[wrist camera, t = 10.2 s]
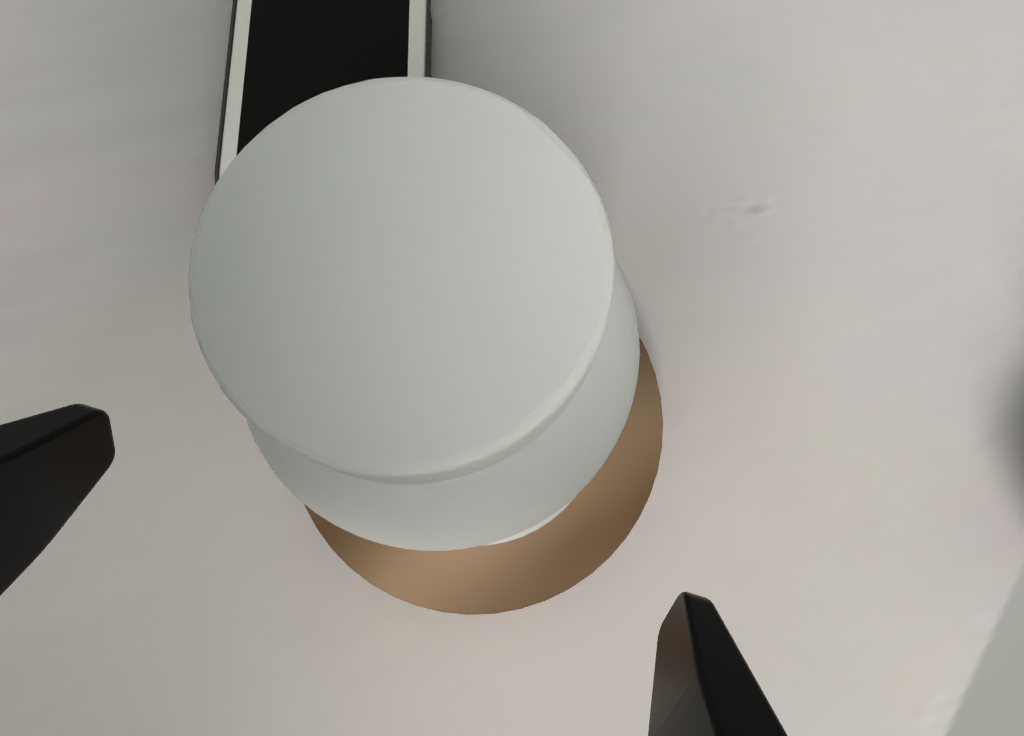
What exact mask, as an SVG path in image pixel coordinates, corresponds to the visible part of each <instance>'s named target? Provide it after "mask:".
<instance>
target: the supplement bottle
mask: <svg viewBox="0 0 1024 736" xmlns="http://www.w3.org/2000/svg"><path fill="white" fill-rule="evenodd" d="M189 297H190V307H191V317H192V323H193V327H194V330H195V334H196V337H197V340H198V343H199V345H200V348H201V351H202V353H203V356H204V358H205V360H206V362H207V364H208V366H209V368H210V370H211V372H212V374H213V375H214V377H215V379H216V381H217V382H218V384H219V386H220V388H221V389H222V391H223V392H224V394H225V395H226V396H227V397H228V398H229V400H230V401H231V402H232V403H233V404H234V406H235V407H236V408H237V409H238V410H239V411H240V412H241V413H242V415H243V416H244V417H245V418H246V419H247V422H248V425H249V428H250V430H251V432H252V435H253V437H254V439H255V442H256V444H257V445H258V447H259V449H260V451H261V453H262V454H263V456H264V458H265V459H266V461H267V462H268V464H269V465H270V467H271V468H272V470H273V471H274V473H275V474H276V475H277V476H278V478H279V479H280V480H281V481H282V482H283V484H284V485H285V486H286V487H287V488H288V489H289V490H290V491H291V492H292V493H293V494H294V495H295V496H296V497H297V498H298V499H299V500H300V501H302V502H303V503H304V504H305V505H306V506H308V507H309V508H310V509H311V510H312V511H314V512H315V513H316V514H318V515H320V516H321V517H323V518H324V519H326V520H328V521H329V522H331V523H332V524H334V525H336V526H338V527H340V528H342V529H344V530H346V531H348V532H350V533H352V534H355V535H357V536H359V537H362V538H364V539H367V540H370V541H373V542H377V543H380V544H383V545H388V546H392V547H397V548H403V549H410V550H420V551H448V550H457V549H465V548H471V547H476V546H481V545H487V544H490V543H493V542H496V541H499V540H503V539H505V538H508V537H510V536H513V535H515V534H518V533H520V532H523V531H525V530H527V529H529V528H531V527H533V526H535V525H536V524H538V523H540V522H541V521H543V520H545V519H546V518H548V517H549V516H551V515H552V514H554V513H555V512H556V511H558V510H559V509H560V508H562V507H563V506H565V505H566V504H567V503H568V502H569V501H571V500H572V499H573V498H574V497H575V496H576V495H577V494H578V493H579V492H580V491H581V490H582V489H583V488H584V487H585V486H586V485H587V484H588V483H589V482H590V481H591V479H592V478H593V477H594V476H595V474H596V473H597V472H598V471H599V469H600V468H601V467H602V465H603V464H604V462H605V461H606V459H607V457H608V456H609V454H610V453H611V451H612V449H613V448H614V446H615V444H616V442H617V440H618V438H619V436H620V434H621V432H622V430H623V428H624V425H625V423H626V421H627V418H628V415H629V412H630V409H631V406H632V403H633V398H634V394H635V390H636V384H637V378H638V370H639V359H640V346H639V331H638V322H637V316H636V312H635V307H634V303H633V300H632V297H631V293H630V290H629V287H628V285H627V283H626V280H625V278H624V276H623V273H622V271H621V269H620V267H619V266H618V264H617V262H616V260H615V255H614V247H613V239H612V231H611V227H610V224H609V220H608V217H607V213H606V210H605V207H604V205H603V202H602V200H601V198H600V195H599V193H598V191H597V189H596V187H595V185H594V184H593V182H592V180H591V178H590V176H589V175H588V173H587V171H586V170H585V168H584V167H583V165H582V164H581V162H580V161H579V160H578V158H577V157H576V155H575V154H574V153H573V152H572V151H571V150H570V148H569V147H568V146H567V145H566V144H565V143H564V142H563V141H562V140H561V139H560V138H559V137H558V136H557V135H556V134H555V133H554V132H553V131H552V130H551V129H550V128H549V127H548V126H547V125H546V124H544V123H543V122H542V121H541V120H539V119H538V118H537V117H535V116H534V115H532V114H531V113H530V112H528V111H527V110H526V109H524V108H522V107H520V106H518V105H517V104H515V103H513V102H511V101H509V100H507V99H505V98H503V97H502V96H500V95H498V94H495V93H492V92H489V91H487V90H485V89H482V88H479V87H476V86H473V85H470V84H466V83H461V82H457V81H452V80H447V79H439V78H431V77H389V78H378V79H370V80H366V81H362V82H358V83H354V84H349V85H345V86H342V87H339V88H336V89H333V90H330V91H327V92H324V93H321V94H319V95H317V96H315V97H313V98H311V99H309V100H307V101H305V102H303V103H301V104H299V105H297V106H295V107H294V108H292V109H290V110H289V111H288V112H286V113H285V114H283V115H282V116H280V117H279V118H278V119H276V120H275V121H273V122H272V123H271V124H269V125H268V126H267V127H266V128H264V129H263V130H262V131H261V132H260V133H259V134H258V135H257V136H255V137H254V138H253V139H252V140H251V141H250V142H249V143H248V144H247V145H246V146H245V147H244V148H243V149H242V151H241V152H240V153H239V154H238V155H237V156H236V157H235V158H234V159H233V161H232V162H231V163H230V165H229V166H228V167H227V169H226V170H225V171H224V173H223V174H222V176H221V177H220V178H219V180H218V181H217V183H216V185H215V187H214V189H213V191H212V193H211V195H210V197H209V199H208V201H207V203H206V206H205V208H204V211H203V213H202V216H201V218H200V221H199V224H198V227H197V230H196V234H195V238H194V242H193V246H192V251H191V258H190V268H189Z"/></svg>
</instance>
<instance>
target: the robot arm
mask: <svg viewBox="0 0 1024 736" xmlns="http://www.w3.org/2000/svg"><path fill="white" fill-rule="evenodd" d="M114 455H115V447H114V441H113V436H112V430H111V425H110V419H109V416H108V415H107V413H106V412H105V411H103V410H100V409H97V408H94V407H91V406H87V405H84V404H74V405H69V406H66V407H62V408H59V409H55V410H52V411H48V412H45V413H41V414H38V415H34V416H31V417H27V418H24V419H20V420H17V421H13V422H10V423H6V424H3V425H0V596H1V595H2V593H3V592H4V591H5V590H6V589H7V588H8V587H9V586H10V585H11V584H12V583H13V582H14V581H15V580H16V579H17V578H18V577H19V576H20V575H21V574H22V572H23V571H24V570H25V569H26V568H27V567H28V566H29V565H30V564H31V563H32V562H33V561H34V560H35V559H36V558H37V556H38V555H39V554H40V553H41V552H42V551H43V550H44V549H45V547H46V546H47V545H48V544H49V543H50V541H51V540H52V539H53V538H54V537H55V535H56V534H57V533H58V532H59V530H60V529H61V528H62V527H63V525H64V524H65V523H66V522H67V520H68V519H69V518H70V516H71V515H72V514H73V513H74V511H75V510H76V509H77V508H78V506H79V505H80V504H81V502H82V501H83V500H84V499H85V497H86V496H87V495H88V494H89V492H90V491H91V490H92V488H93V487H94V486H95V485H96V483H97V482H98V481H99V480H100V478H101V477H102V476H103V474H104V473H105V472H106V471H107V469H108V468H109V467H110V465H111V463H112V461H113V459H114ZM648 736H787V734H786V732H785V730H784V729H783V727H782V725H781V723H780V722H779V720H778V718H777V716H776V714H775V713H774V711H773V709H772V707H771V706H770V704H769V702H768V700H767V698H766V697H765V695H764V693H763V691H762V690H761V688H760V686H759V684H758V682H757V681H756V679H755V677H754V675H753V674H752V672H751V670H750V668H749V666H748V665H747V663H746V661H745V659H744V658H743V656H742V654H741V652H740V651H739V649H738V647H737V645H736V643H735V642H734V640H733V638H732V636H731V635H730V633H729V631H728V629H727V627H726V626H725V624H724V622H723V620H722V619H721V617H720V615H719V613H718V611H717V610H716V608H715V606H714V605H713V603H712V602H711V601H710V600H709V599H707V598H705V597H701V596H698V595H695V594H692V593H689V592H682V593H681V594H680V595H679V596H678V597H677V599H676V601H675V602H674V604H673V606H672V607H671V609H670V611H669V613H668V614H667V616H666V618H665V619H664V621H663V623H662V625H661V628H660V631H659V635H658V642H657V652H656V662H655V672H654V682H653V692H652V702H651V712H650V722H649V733H648Z"/></svg>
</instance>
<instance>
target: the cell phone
mask: <svg viewBox="0 0 1024 736" xmlns="http://www.w3.org/2000/svg"><path fill="white" fill-rule="evenodd" d="M430 2H431V0H233V7H232V16H231V25H230V34H229V44H228V53H227V62H226V71H225V81H224V90H223V99H222V109H221V118H220V127H219V136H218V146H217V155H216V164H215V185H216V183H217V181H218V180H219V178H220V177H221V176H222V174H223V173H224V171H225V170H226V169H227V167H228V166H229V165H230V163H231V162H232V161H233V159H234V158H235V157H236V156H237V155H238V154H239V153H240V152H241V151H242V149H243V148H244V147H245V146H246V145H247V144H248V143H249V142H250V141H251V140H252V139H253V138H254V137H255V136H257V135H258V134H259V133H260V132H261V131H262V130H263V129H264V128H266V127H267V126H268V125H269V124H271V123H272V122H273V121H275V120H276V119H278V118H279V117H280V116H282V115H283V114H285V113H286V112H288V111H289V110H290V109H292V108H294V107H295V106H297V105H299V104H301V103H303V102H305V101H307V100H309V99H311V98H313V97H315V96H317V95H319V94H321V93H324V92H327V91H330V90H333V89H336V88H339V87H342V86H345V85H349V84H354V83H358V82H362V81H366V80H370V79H378V78H389V77H431V40H432V18H431V12H430Z"/></svg>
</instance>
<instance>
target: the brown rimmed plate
mask: <svg viewBox="0 0 1024 736" xmlns="http://www.w3.org/2000/svg"><path fill="white" fill-rule="evenodd" d="M639 346H640V359H639V370H638V378H637V384H636V390H635V394H634V398H633V403H632V406H631V409H630V412H629V415H628V418H627V421H626V423H625V425H624V428H623V430H622V432H621V434H620V436H619V438H618V440H617V442H616V444H615V446H614V448H613V449H612V451H611V453H610V454H609V456H608V457H607V459H606V461H605V462H604V464H603V465H602V467H601V468H600V469H599V471H598V472H597V473H596V474H595V476H594V477H593V478H592V479H591V481H590V482H589V483H588V484H587V485H586V486H585V487H584V488H583V489H582V490H581V491H580V492H579V493H578V494H577V495H576V496H575V497H574V498H573V499H572V500H571V501H569V502H568V503H567V504H566V505H565V506H563V507H562V508H560V509H559V510H558V511H556V512H555V513H554V514H552V515H551V516H549V517H548V518H546V519H545V520H543V521H541V522H540V523H538V524H536V525H535V526H533V527H531V528H529V529H527V530H525V531H523V532H520V533H518V534H515V535H513V536H510V537H508V538H505V539H503V540H499V541H496V542H493V543H490V544H487V545H481V546H476V547H471V548H465V549H457V550H448V551H420V550H410V549H403V548H397V547H392V546H388V545H383V544H380V543H377V542H373V541H370V540H367V539H364V538H362V537H359V536H357V535H355V534H352V533H350V532H348V531H346V530H344V529H342V528H340V527H338V526H336V525H334V524H332V523H331V522H329V521H328V520H326V519H324V518H323V517H321V516H320V515H318V514H316V513H315V512H314V511H312V510H311V509H310V508H309V507H308V506H306V505H305V507H306V509H307V510H308V512H309V514H310V516H311V518H312V520H313V522H314V524H315V525H316V527H317V529H318V530H319V532H320V533H321V534H322V536H323V537H324V539H325V540H326V541H327V543H328V544H329V545H330V547H331V548H332V549H333V550H334V551H335V552H336V554H337V555H338V556H339V557H340V558H341V559H342V560H343V561H344V562H345V563H346V564H347V565H348V566H349V567H350V568H351V569H353V570H354V571H355V572H357V573H358V574H359V575H360V576H362V577H363V578H364V579H366V580H367V581H368V582H369V583H371V584H373V585H374V586H376V587H378V588H380V589H381V590H383V591H385V592H386V593H388V594H390V595H392V596H394V597H396V598H399V599H401V600H404V601H406V602H409V603H411V604H414V605H416V606H420V607H424V608H428V609H432V610H436V611H440V612H448V613H458V614H468V615H469V614H494V613H500V612H505V611H511V610H517V609H521V608H524V607H527V606H530V605H533V604H536V603H539V602H543V601H545V600H547V599H549V598H552V597H554V596H556V595H558V594H560V593H562V592H564V591H566V590H568V589H569V588H571V587H572V586H574V585H575V584H577V583H578V582H580V581H581V580H583V579H584V578H586V577H587V576H589V575H590V574H591V573H592V572H594V571H595V570H596V569H597V568H598V567H599V566H600V565H601V564H603V563H604V562H605V561H606V560H607V559H608V558H609V557H610V556H611V555H612V554H613V553H614V551H615V550H616V549H617V548H618V547H619V546H620V544H621V543H622V542H623V541H624V540H625V539H626V537H627V535H628V534H629V532H630V531H631V529H632V528H633V526H634V525H635V523H636V522H637V520H638V518H639V517H640V515H641V513H642V510H643V508H644V506H645V504H646V502H647V500H648V498H649V496H650V493H651V490H652V487H653V483H654V480H655V477H656V474H657V471H658V465H659V460H660V454H661V448H662V429H663V419H662V408H661V397H660V393H659V389H658V384H657V380H656V375H655V372H654V370H653V367H652V364H651V361H650V359H649V356H648V353H647V351H646V349H645V347H644V345H643V343H642V341H641V339H640V338H639Z"/></svg>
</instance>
